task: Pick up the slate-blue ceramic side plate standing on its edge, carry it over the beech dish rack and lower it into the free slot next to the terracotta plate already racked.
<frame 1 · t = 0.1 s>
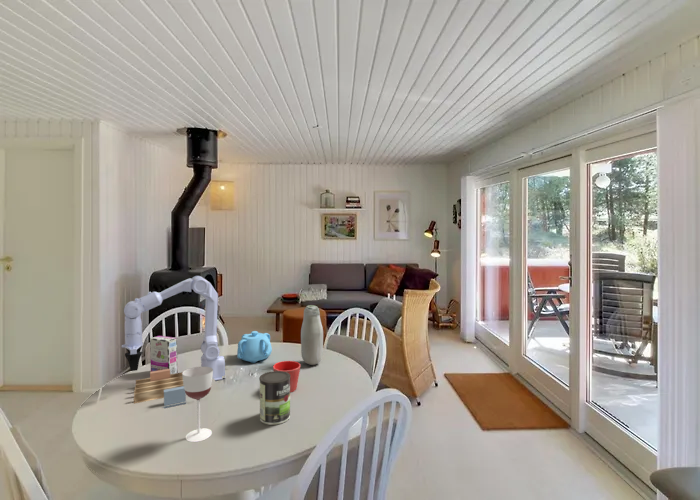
hand: (134, 367, 141), 10 cm above the table, fingers open, 7 cm apart
terracotta plate: (160, 385, 146), point 1 cm above the table, touching dish rack
decorative pot: (254, 359, 180), on the table
candy bar box: (164, 375, 160), on the table
coffee can: (275, 417, 124), on the table
dish rack: (161, 392, 142), on the table
flower pot: (287, 389, 145), on the table
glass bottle: (312, 364, 174), on the table
wineglass: (198, 435, 113), on the table
slate plate: (175, 405, 132), on the table
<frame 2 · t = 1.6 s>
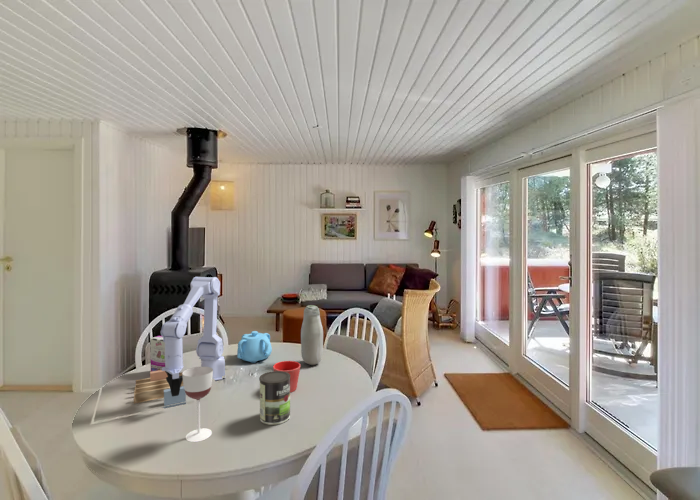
hand: (174, 391, 132), 5 cm above the table, fingers open, 7 cm apart
nothing on the table moved.
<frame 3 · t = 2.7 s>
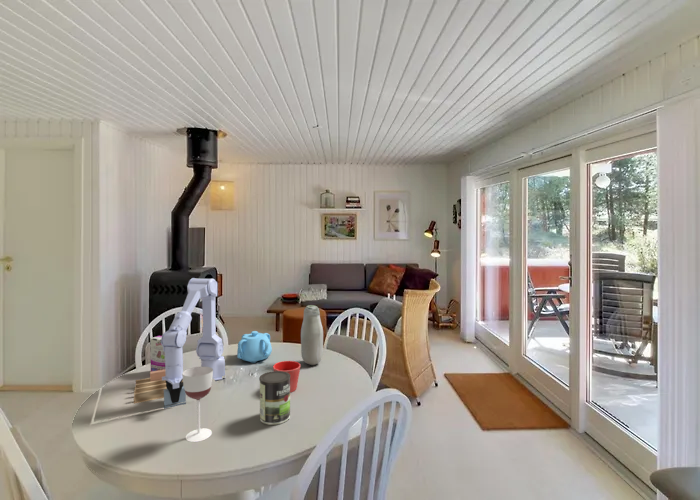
hand: (174, 400, 132), 2 cm above the table, fingers closed on slate plate, 2 cm apart
slate plate: (175, 405, 132), on the table, touching gripper
everything else where it was.
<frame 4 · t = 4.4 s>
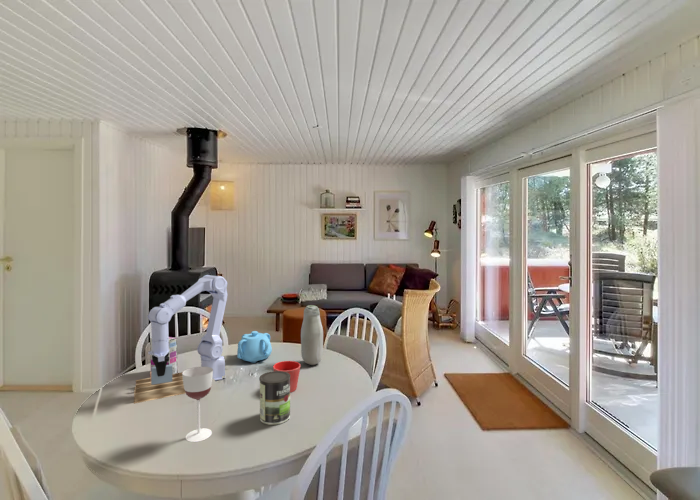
hand: (160, 374, 138), 9 cm above the table, fingers closed on slate plate, 2 cm apart
slate plate: (161, 382, 138), point 6 cm above the table, touching gripper
everything else where it was.
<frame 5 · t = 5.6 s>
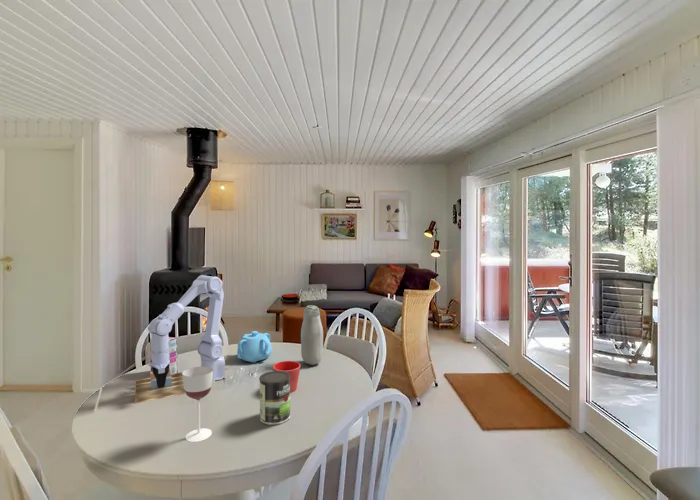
hand: (161, 385, 138), 4 cm above the table, fingers closed on slate plate, 2 cm apart
slate plate: (161, 394, 138), point 1 cm above the table, touching dish rack, gripper
everything else where it was.
when the fingers open (4 cm above the table, at t = 6.0 s): slate plate stays where it is, resting on dish rack.
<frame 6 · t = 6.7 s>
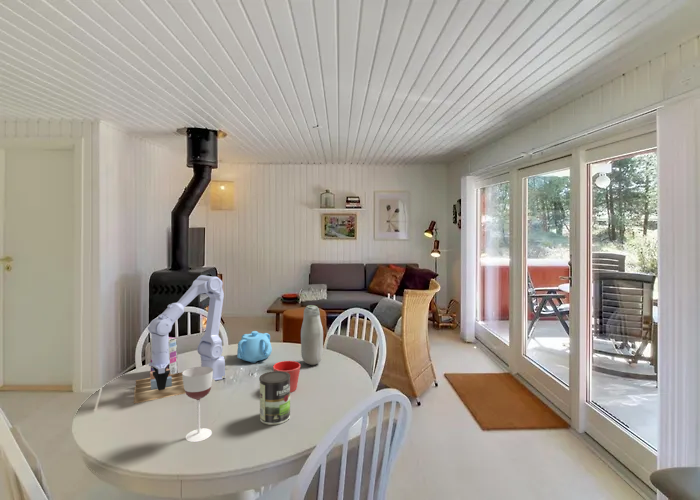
hand: (161, 385, 138), 4 cm above the table, fingers open, 7 cm apart
slate plate: (161, 394, 138), point 1 cm above the table, touching dish rack
everything else where it was.
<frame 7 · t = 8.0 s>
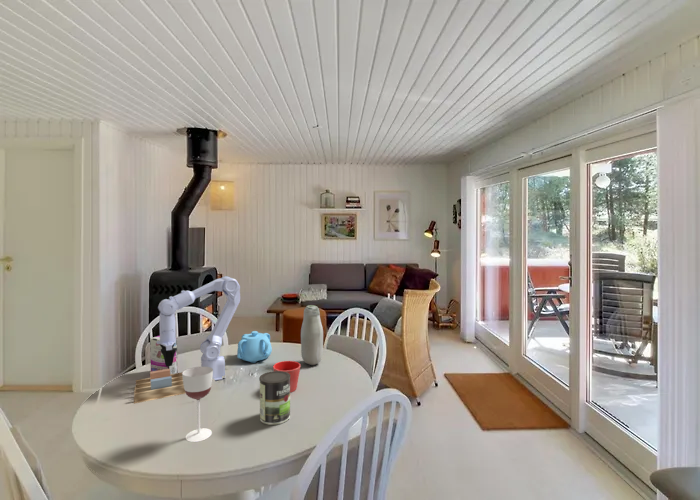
hand: (168, 362, 146), 10 cm above the table, fingers open, 7 cm apart
nothing on the table moved.
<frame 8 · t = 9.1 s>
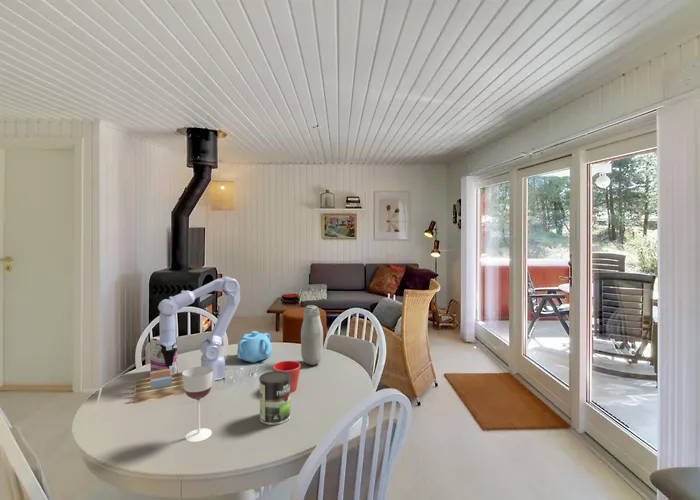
hand: (168, 362, 146), 10 cm above the table, fingers open, 7 cm apart
nothing on the table moved.
at the end: slate plate inside the target area on the dish rack (0.1 cm from its centre), point 1.0 cm above the dish rack's base; slate plate tilted 0°; the gripper is holding nothing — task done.
